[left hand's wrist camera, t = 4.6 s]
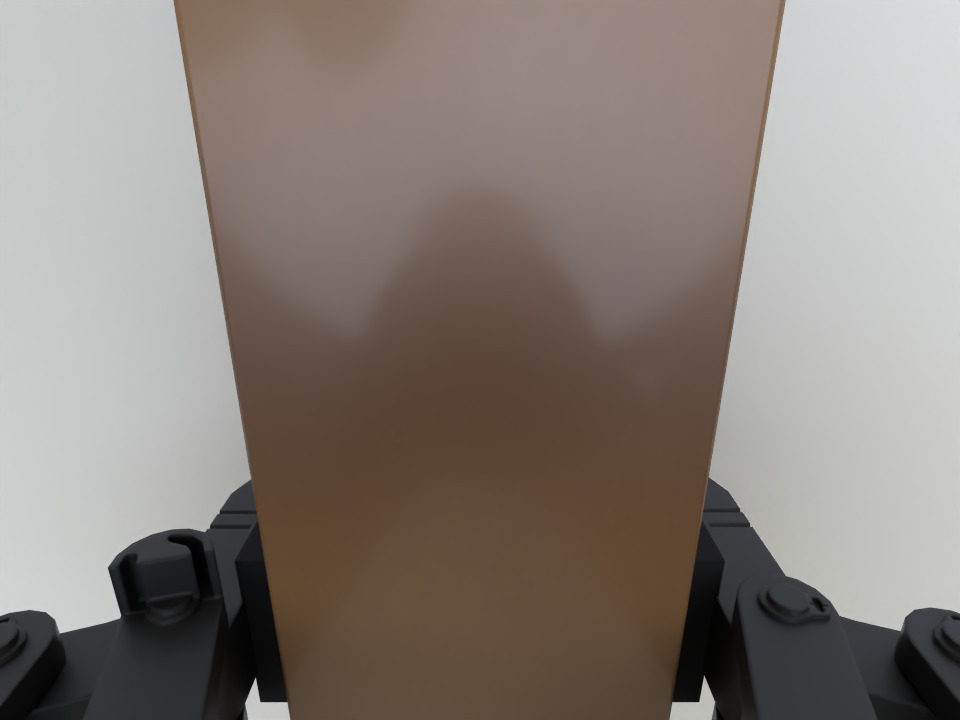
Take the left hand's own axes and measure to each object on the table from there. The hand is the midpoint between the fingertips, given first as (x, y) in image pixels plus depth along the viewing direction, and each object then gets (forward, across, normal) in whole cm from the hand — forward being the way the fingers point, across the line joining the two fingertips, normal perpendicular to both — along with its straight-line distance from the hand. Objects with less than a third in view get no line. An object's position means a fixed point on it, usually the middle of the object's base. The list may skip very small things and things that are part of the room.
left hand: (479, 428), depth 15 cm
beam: (0, 0, -21) cm, 21 cm away
